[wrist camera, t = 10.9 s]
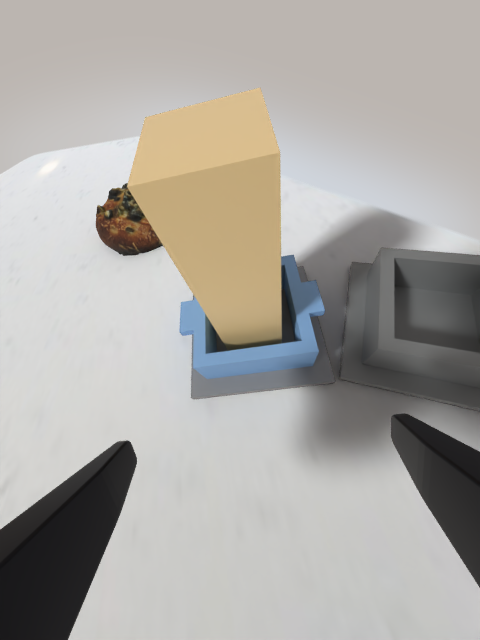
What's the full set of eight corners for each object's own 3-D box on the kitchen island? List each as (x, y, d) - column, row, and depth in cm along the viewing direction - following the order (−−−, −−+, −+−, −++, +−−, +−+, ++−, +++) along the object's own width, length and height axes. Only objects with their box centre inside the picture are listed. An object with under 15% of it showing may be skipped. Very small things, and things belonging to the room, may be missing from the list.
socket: (525, 421, 13) (602, 415, 10) (339, 379, 16) (353, 364, 13) (494, 281, 17) (541, 245, 14) (350, 266, 20) (363, 233, 17)
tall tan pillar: (281, 345, 17) (279, 151, 6) (229, 352, 17) (127, 186, 6) (273, 300, 19) (260, 87, 7) (226, 307, 19) (145, 117, 8)
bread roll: (90, 260, 26) (56, 219, 22) (126, 208, 32) (105, 168, 28) (183, 257, 24) (166, 212, 20) (202, 202, 31) (191, 160, 27)
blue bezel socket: (333, 383, 16) (346, 369, 12) (193, 399, 17) (173, 390, 14) (302, 270, 20) (306, 239, 17) (195, 288, 21) (180, 262, 18)
